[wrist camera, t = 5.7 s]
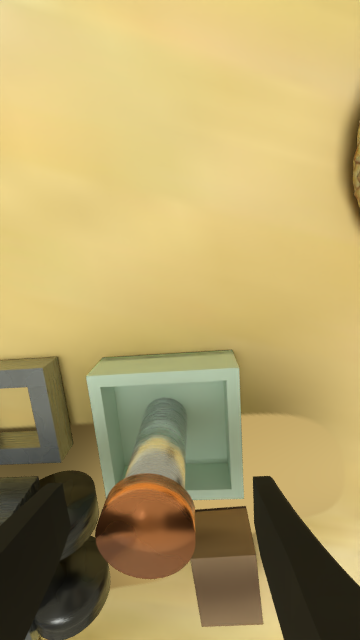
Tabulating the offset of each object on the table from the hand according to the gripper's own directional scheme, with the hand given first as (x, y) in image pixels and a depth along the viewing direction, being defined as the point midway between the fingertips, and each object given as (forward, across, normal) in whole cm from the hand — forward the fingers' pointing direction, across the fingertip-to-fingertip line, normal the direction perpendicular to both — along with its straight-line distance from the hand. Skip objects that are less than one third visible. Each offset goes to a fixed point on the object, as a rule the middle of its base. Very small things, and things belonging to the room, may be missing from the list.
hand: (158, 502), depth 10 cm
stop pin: (+5, 0, 0) cm, 5 cm away
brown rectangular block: (+6, -3, +9) cm, 12 cm away
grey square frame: (+6, +9, -1) cm, 11 cm away
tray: (+6, 0, 0) cm, 6 cm away
